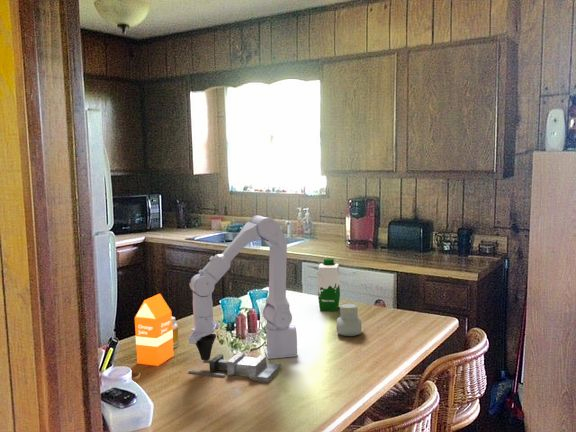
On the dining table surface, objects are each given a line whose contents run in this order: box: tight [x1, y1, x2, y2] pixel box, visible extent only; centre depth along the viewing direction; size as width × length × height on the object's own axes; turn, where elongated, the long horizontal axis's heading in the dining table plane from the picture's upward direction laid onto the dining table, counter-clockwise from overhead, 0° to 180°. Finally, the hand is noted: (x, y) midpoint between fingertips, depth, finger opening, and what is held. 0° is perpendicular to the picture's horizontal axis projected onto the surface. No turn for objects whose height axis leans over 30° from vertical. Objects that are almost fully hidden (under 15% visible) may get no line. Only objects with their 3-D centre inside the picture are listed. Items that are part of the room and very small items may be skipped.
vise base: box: [188, 354, 282, 384], centre depth 156 cm, size 25×10×4 cm, turn 70°
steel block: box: [235, 356, 257, 377], centre depth 155 cm, size 5×6×4 cm
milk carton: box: [316, 257, 341, 312], centre depth 217 cm, size 9×9×20 cm
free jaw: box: [208, 352, 245, 377], centre depth 157 cm, size 8×7×4 cm
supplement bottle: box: [172, 316, 180, 349], centre depth 179 cm, size 5×5×10 cm
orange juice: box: [134, 293, 175, 366], centre depth 167 cm, size 8×9×20 cm
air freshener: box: [336, 303, 362, 337], centre depth 186 cm, size 11×8×10 cm
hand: (205, 359), depth 159 cm, fingers closed
